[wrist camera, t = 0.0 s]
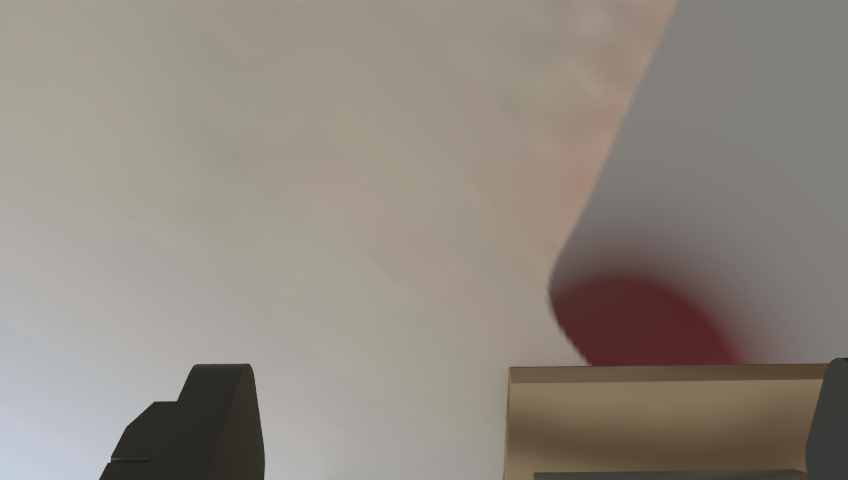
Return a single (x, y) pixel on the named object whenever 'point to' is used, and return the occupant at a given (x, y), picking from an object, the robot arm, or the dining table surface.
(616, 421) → the socket stand
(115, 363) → the dining table surface
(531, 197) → the dining table surface
